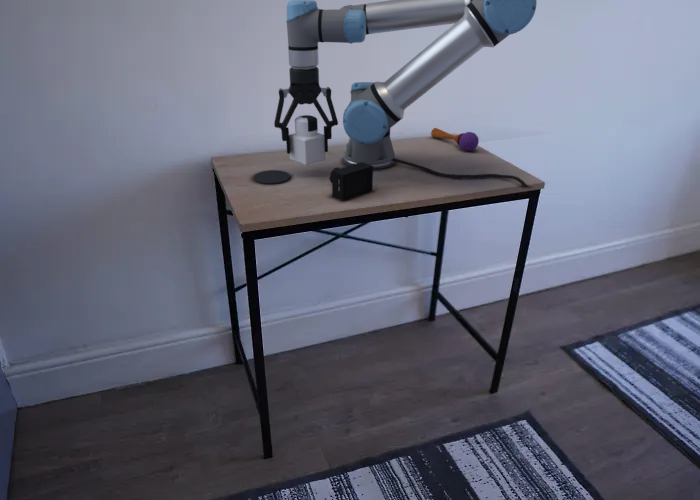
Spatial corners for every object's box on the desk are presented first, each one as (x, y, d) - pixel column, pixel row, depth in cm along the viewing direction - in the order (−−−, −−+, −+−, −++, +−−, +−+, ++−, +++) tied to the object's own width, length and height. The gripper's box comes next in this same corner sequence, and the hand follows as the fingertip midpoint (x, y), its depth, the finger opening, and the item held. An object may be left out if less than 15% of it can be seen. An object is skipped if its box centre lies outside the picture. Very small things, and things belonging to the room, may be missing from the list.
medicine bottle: (309, 154, 151) (307, 112, 145) (325, 159, 146) (324, 116, 141) (289, 159, 146) (287, 116, 141) (306, 165, 142) (304, 121, 136)
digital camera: (358, 185, 141) (358, 160, 137) (372, 191, 137) (373, 165, 134) (328, 195, 134) (328, 169, 131) (343, 201, 131) (343, 174, 128)
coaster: (295, 173, 148) (295, 172, 148) (281, 186, 140) (281, 184, 139) (263, 170, 151) (262, 168, 150) (247, 181, 142) (247, 180, 142)
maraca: (443, 124, 182) (484, 134, 166) (439, 141, 184) (480, 152, 168) (429, 123, 178) (470, 133, 163) (426, 141, 180) (466, 152, 165)
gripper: (345, 63, 139) (345, 145, 150) (259, 65, 137) (266, 149, 147) (349, 68, 133) (349, 153, 143) (259, 70, 130) (266, 157, 140)
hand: (307, 151), depth 145 cm, fingers closed on medicine bottle, 10 cm apart
